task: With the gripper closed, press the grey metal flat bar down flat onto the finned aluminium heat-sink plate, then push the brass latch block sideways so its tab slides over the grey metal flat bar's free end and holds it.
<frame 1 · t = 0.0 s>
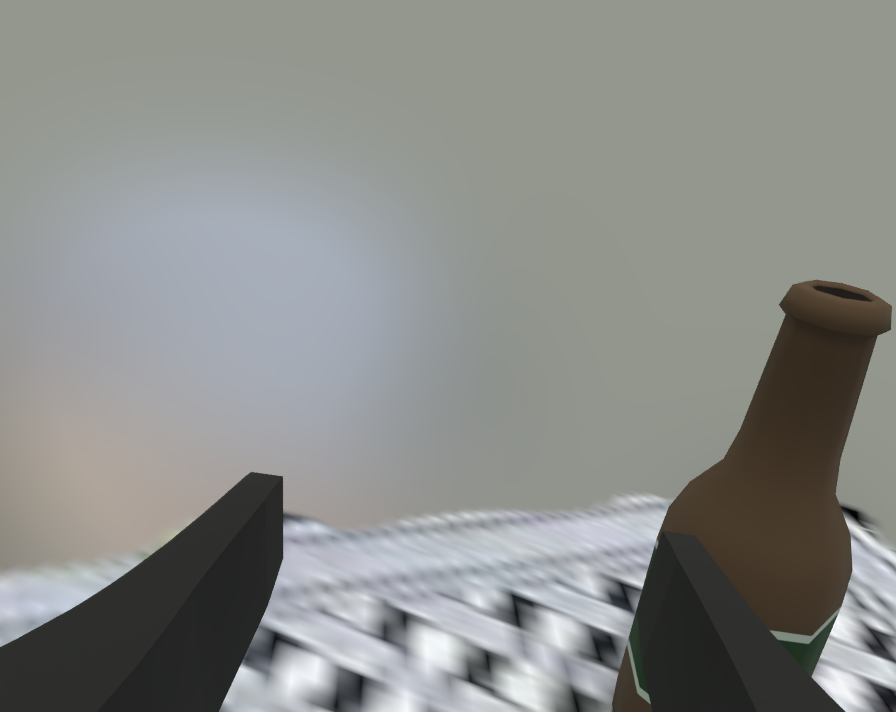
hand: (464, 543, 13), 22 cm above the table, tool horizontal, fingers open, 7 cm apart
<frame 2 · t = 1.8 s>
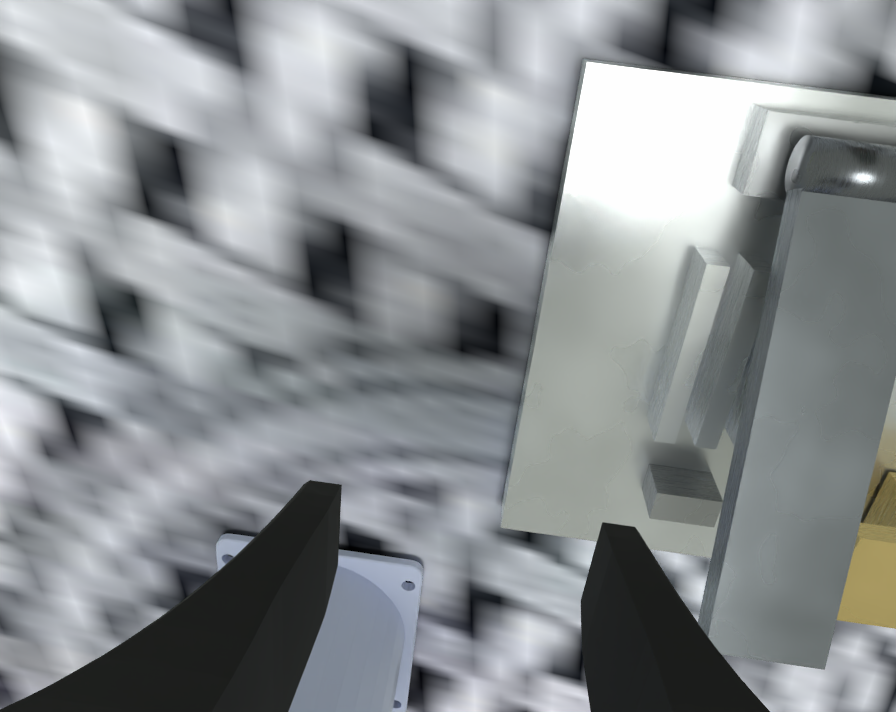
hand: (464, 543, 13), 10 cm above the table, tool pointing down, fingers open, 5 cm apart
grey metal flat bar: (811, 413, 17), point 5 cm above the table, hinge at 18.0°
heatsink: (777, 350, 21), on the table
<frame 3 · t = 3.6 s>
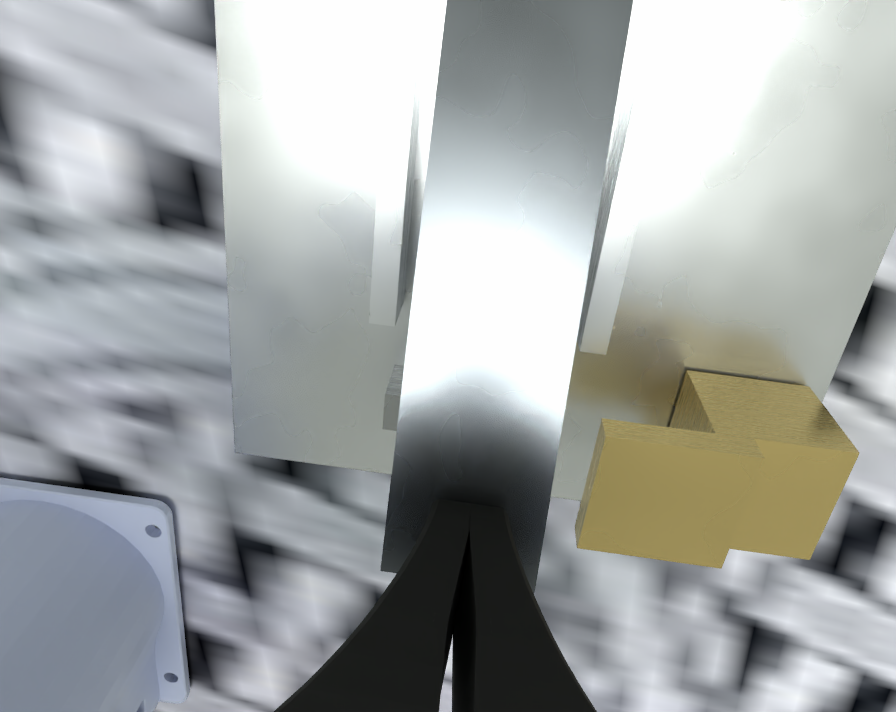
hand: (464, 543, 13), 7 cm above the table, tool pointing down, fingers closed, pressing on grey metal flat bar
latch: (698, 463, 16), point 3 cm above the table, slide at 0.0 cm
grey metal flat bar: (503, 251, 13), point 5 cm above the table, hinge at 15.7°, touching gripper
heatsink: (543, 215, 17), on the table
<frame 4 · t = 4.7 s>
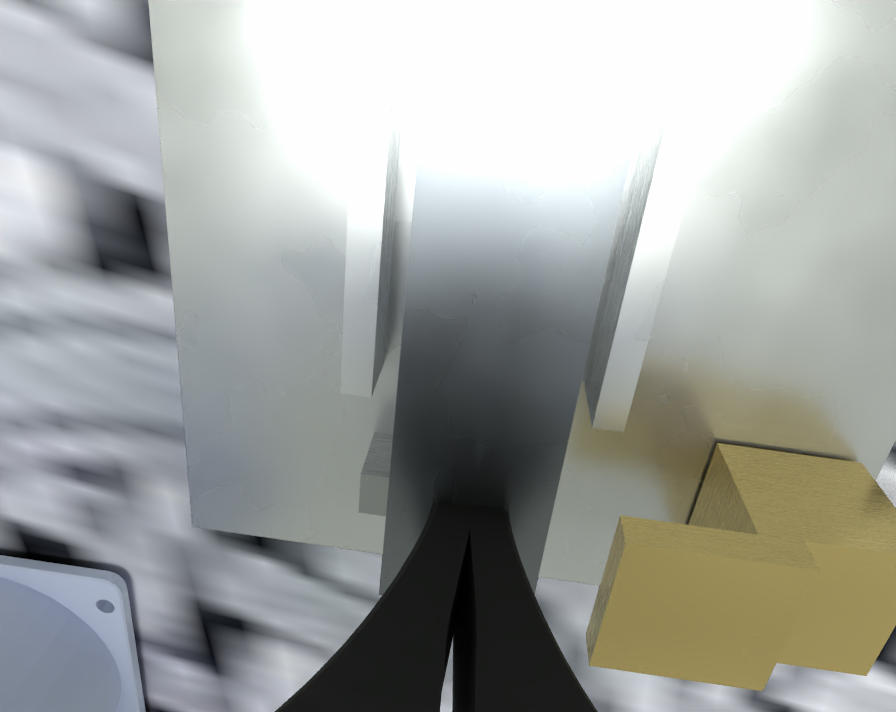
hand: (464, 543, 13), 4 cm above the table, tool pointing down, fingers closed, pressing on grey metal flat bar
latch: (733, 558, 14), point 3 cm above the table, slide at 0.0 cm
grey metal flat bar: (499, 301, 11), point 3 cm above the table, hinge at 1.3°, touching gripper
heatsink: (548, 261, 14), on the table
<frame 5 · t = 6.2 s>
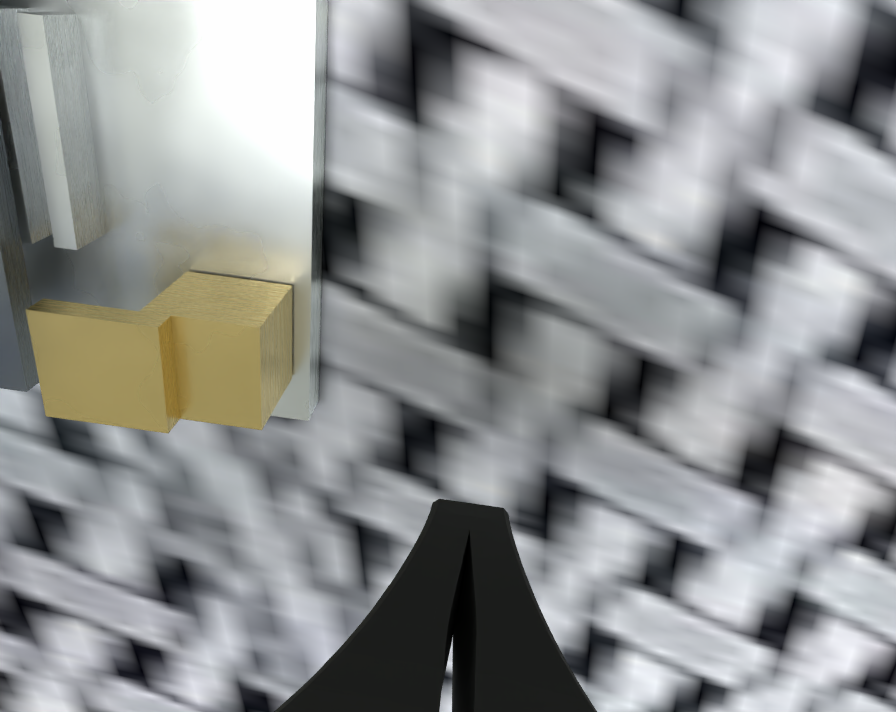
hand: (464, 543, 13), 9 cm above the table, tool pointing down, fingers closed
latch: (174, 348, 19), point 3 cm above the table, slide at 0.0 cm
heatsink: (58, 135, 19), on the table
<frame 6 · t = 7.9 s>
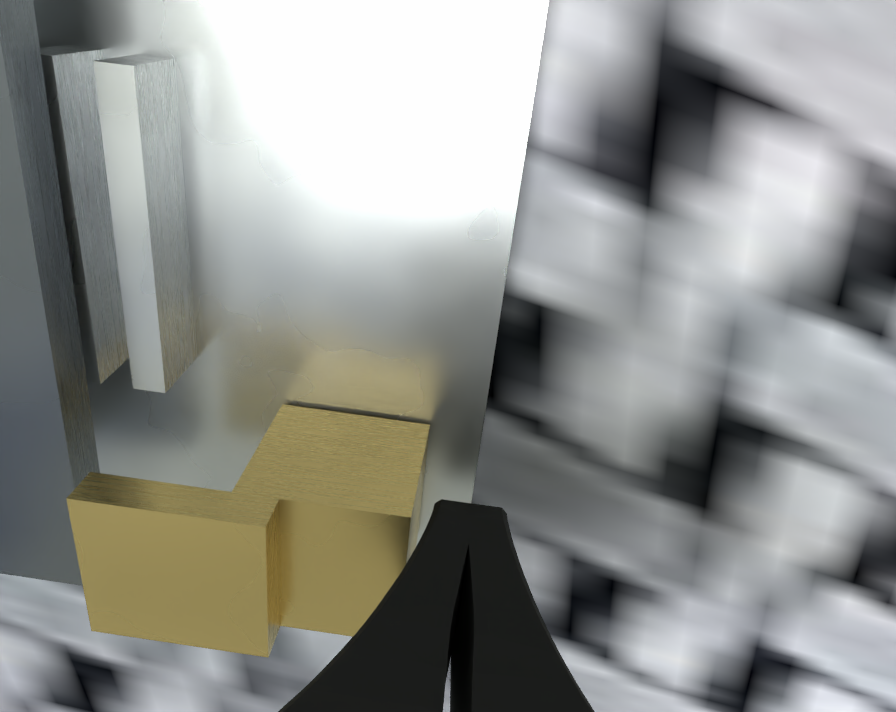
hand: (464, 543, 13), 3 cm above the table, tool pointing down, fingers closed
latch: (270, 521, 13), point 3 cm above the table, slide at 0.6 cm, touching gripper
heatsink: (131, 219, 14), on the table
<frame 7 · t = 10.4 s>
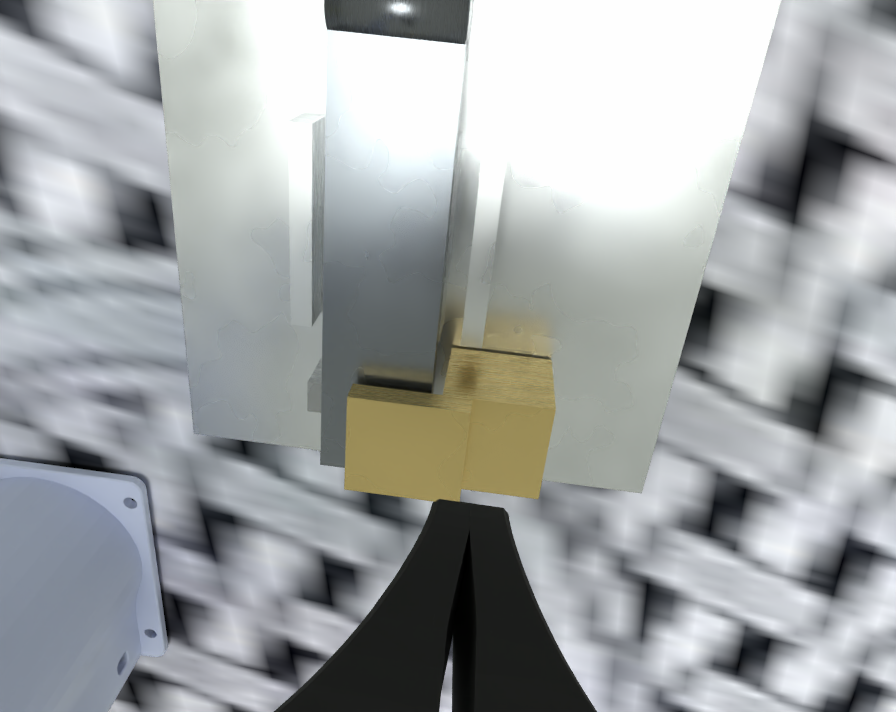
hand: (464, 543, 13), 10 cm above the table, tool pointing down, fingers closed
latch: (451, 422, 20), point 3 cm above the table, slide at 3.2 cm
grey metal flat bar: (386, 256, 18), point 3 cm above the table, hinge at 1.3°
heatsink: (438, 234, 21), on the table
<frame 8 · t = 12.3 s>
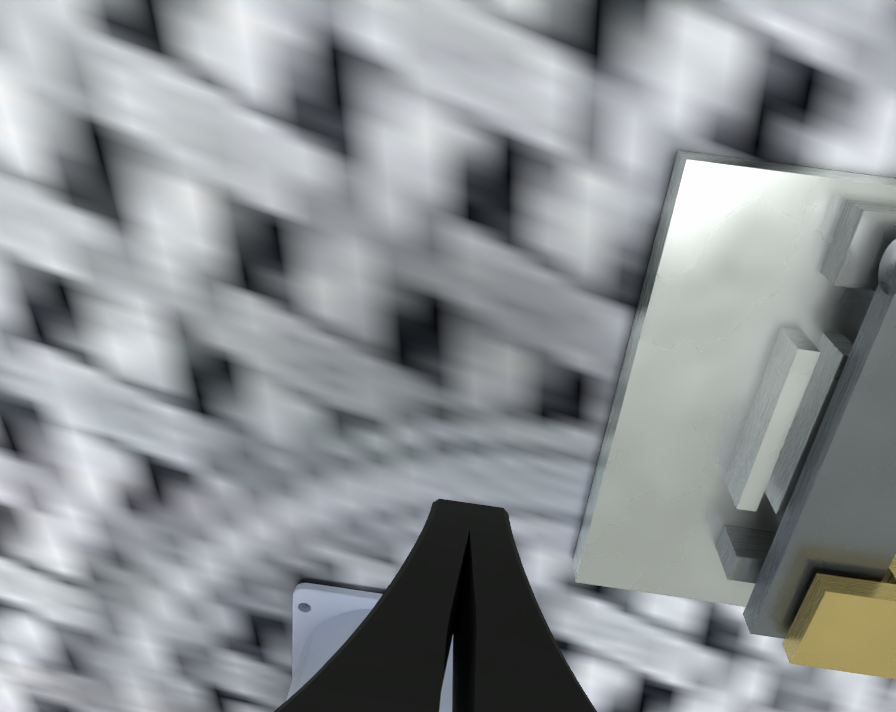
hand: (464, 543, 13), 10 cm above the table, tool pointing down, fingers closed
latch: (873, 596, 22), point 3 cm above the table, slide at 3.2 cm
grey metal flat bar: (869, 466, 19), point 3 cm above the table, hinge at 1.3°
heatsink: (850, 417, 22), on the table
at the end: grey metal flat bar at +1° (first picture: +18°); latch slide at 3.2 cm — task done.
